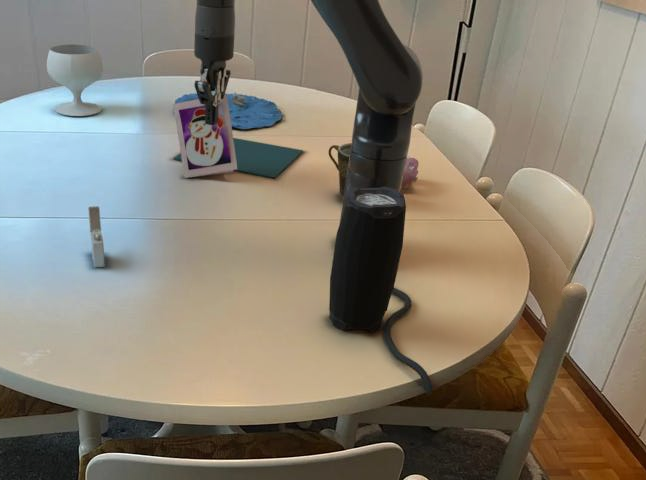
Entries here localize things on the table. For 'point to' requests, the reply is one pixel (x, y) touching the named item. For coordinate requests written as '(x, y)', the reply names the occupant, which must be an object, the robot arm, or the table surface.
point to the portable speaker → (366, 257)
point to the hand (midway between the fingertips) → (211, 123)
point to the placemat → (261, 158)
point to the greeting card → (205, 139)
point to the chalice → (75, 75)
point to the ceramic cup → (341, 164)
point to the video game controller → (410, 172)
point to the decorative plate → (246, 110)
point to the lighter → (96, 237)
